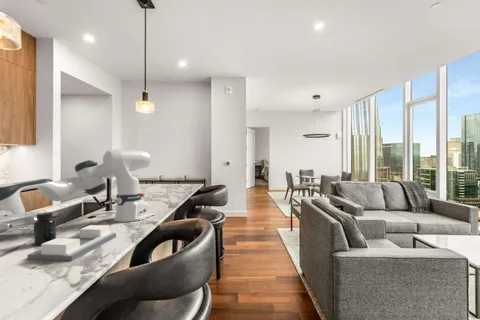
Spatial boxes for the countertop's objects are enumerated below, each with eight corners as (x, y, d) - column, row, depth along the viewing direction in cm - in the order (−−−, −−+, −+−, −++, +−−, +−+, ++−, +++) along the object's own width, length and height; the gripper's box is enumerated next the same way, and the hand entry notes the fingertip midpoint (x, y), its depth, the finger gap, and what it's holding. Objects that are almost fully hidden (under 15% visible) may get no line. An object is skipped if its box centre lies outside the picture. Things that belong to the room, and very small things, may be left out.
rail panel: (81, 235, 103) (81, 224, 103) (116, 236, 102) (116, 225, 102) (27, 259, 79) (27, 244, 79) (71, 260, 78) (71, 245, 78)
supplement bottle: (50, 239, 99) (50, 210, 99) (59, 241, 96) (59, 212, 96) (30, 244, 93) (30, 214, 93) (39, 247, 90) (39, 216, 90)
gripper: (27, 221, 111) (49, 224, 108) (-32, 235, 91) (-7, 238, 88) (27, 208, 111) (49, 210, 108) (-32, 219, 91) (-8, 221, 88)
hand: (23, 223), depth 98 cm, fingers open, 8 cm apart
